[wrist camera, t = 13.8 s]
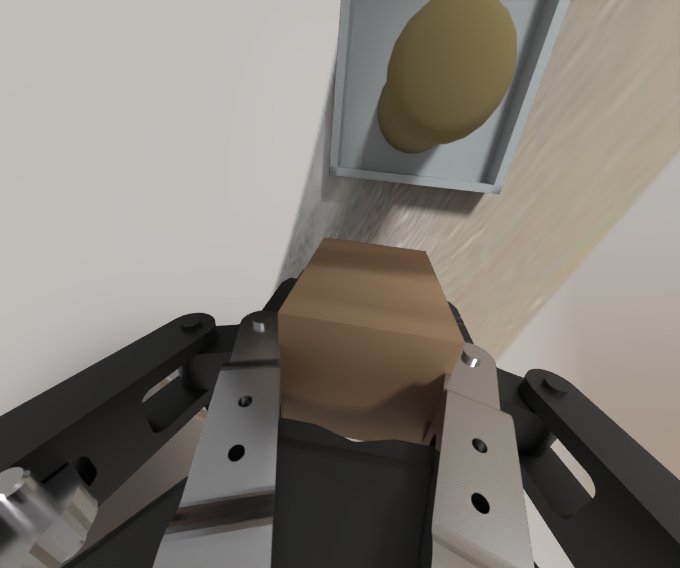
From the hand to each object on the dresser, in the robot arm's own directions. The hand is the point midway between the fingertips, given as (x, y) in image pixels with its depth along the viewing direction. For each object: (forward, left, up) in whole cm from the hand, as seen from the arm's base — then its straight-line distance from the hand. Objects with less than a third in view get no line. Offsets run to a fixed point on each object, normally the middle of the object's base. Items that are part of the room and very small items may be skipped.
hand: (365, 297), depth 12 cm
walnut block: (0, 0, -1) cm, 1 cm away
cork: (-9, +2, -14) cm, 17 cm away
